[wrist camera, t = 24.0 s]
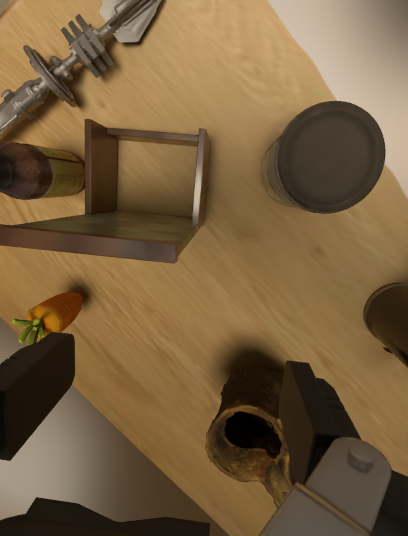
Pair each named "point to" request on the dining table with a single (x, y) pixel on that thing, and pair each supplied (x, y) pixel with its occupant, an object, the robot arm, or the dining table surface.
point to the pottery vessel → (252, 432)
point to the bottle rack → (105, 206)
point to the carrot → (50, 316)
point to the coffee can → (325, 158)
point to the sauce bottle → (39, 172)
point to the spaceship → (76, 57)
